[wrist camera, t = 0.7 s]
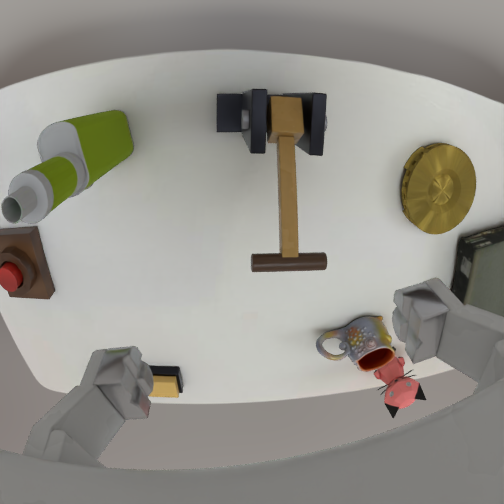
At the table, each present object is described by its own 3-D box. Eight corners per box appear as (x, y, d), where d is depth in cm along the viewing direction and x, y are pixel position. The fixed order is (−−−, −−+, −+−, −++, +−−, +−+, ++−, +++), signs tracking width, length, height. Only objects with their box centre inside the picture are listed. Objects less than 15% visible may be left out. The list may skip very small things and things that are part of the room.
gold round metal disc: (468, 141, 33) (478, 145, 31) (462, 221, 39) (470, 227, 37) (398, 143, 33) (407, 146, 31) (396, 233, 39) (404, 240, 37)
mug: (388, 313, 45) (406, 342, 40) (371, 345, 48) (386, 374, 43) (318, 309, 44) (331, 341, 38) (305, 344, 47) (315, 377, 41)
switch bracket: (310, 135, 32) (355, 158, 21) (216, 132, 31) (212, 153, 20) (312, 95, 30) (361, 98, 19) (217, 92, 29) (212, 88, 18)
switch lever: (319, 269, 23) (330, 271, 20) (250, 271, 22) (253, 273, 20) (312, 112, 23) (320, 99, 20) (247, 109, 22) (250, 94, 20)
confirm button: (0, 261, 32) (-7, 268, 30) (18, 261, 32) (12, 268, 31) (8, 284, 34) (2, 291, 32) (26, 285, 34) (20, 292, 32)
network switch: (533, 201, 38) (552, 212, 34) (517, 299, 49) (530, 313, 45) (444, 239, 40) (463, 255, 36) (437, 344, 51) (448, 362, 47)
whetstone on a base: (98, 362, 46) (93, 375, 43) (179, 366, 47) (177, 380, 44) (106, 381, 48) (102, 394, 45) (183, 385, 49) (182, 399, 47)
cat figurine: (397, 337, 48) (426, 389, 38) (404, 357, 51) (431, 406, 41) (361, 358, 50) (385, 413, 39) (372, 376, 53) (394, 427, 42)
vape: (107, 166, 32) (4, 248, 14) (94, 116, 29) (-29, 155, 11) (136, 157, 32) (47, 235, 14) (124, 105, 29) (13, 129, 11)
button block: (-3, 229, 33) (-19, 241, 30) (37, 226, 34) (22, 239, 30) (16, 289, 38) (4, 304, 34) (55, 290, 39) (44, 307, 35)
